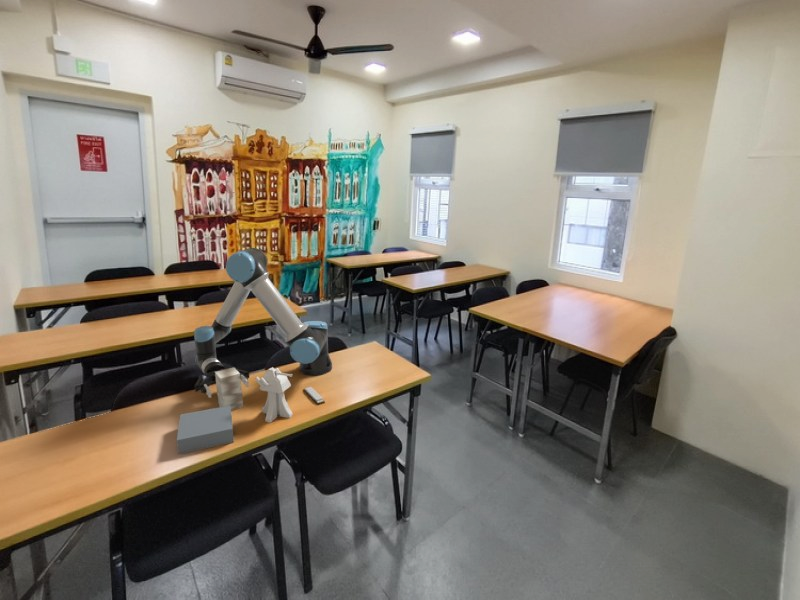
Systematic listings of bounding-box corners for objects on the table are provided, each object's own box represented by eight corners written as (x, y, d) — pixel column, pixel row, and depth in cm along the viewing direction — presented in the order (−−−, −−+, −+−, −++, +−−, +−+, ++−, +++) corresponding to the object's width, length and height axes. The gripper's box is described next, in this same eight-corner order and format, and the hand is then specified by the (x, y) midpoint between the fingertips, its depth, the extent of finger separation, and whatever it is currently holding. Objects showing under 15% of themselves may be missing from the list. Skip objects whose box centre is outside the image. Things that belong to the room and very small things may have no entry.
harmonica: (325, 403, 155) (324, 399, 154) (317, 406, 153) (317, 401, 152) (310, 389, 166) (310, 384, 165) (303, 391, 164) (303, 386, 164)
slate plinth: (231, 417, 143) (230, 405, 142) (233, 442, 129) (232, 428, 128) (182, 427, 136) (180, 414, 135) (178, 454, 122) (176, 440, 121)
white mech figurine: (285, 425, 139) (282, 379, 134) (253, 419, 142) (249, 373, 138) (302, 409, 150) (300, 365, 145) (272, 403, 153) (269, 360, 149)
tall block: (237, 399, 155) (234, 367, 152) (243, 406, 150) (240, 373, 147) (218, 405, 151) (214, 371, 148) (224, 412, 146) (220, 378, 142)
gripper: (244, 370, 172) (262, 388, 156) (181, 386, 156) (194, 408, 141) (243, 354, 170) (261, 371, 154) (179, 369, 154) (191, 389, 139)
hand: (229, 388), depth 147 cm, fingers open, 13 cm apart
